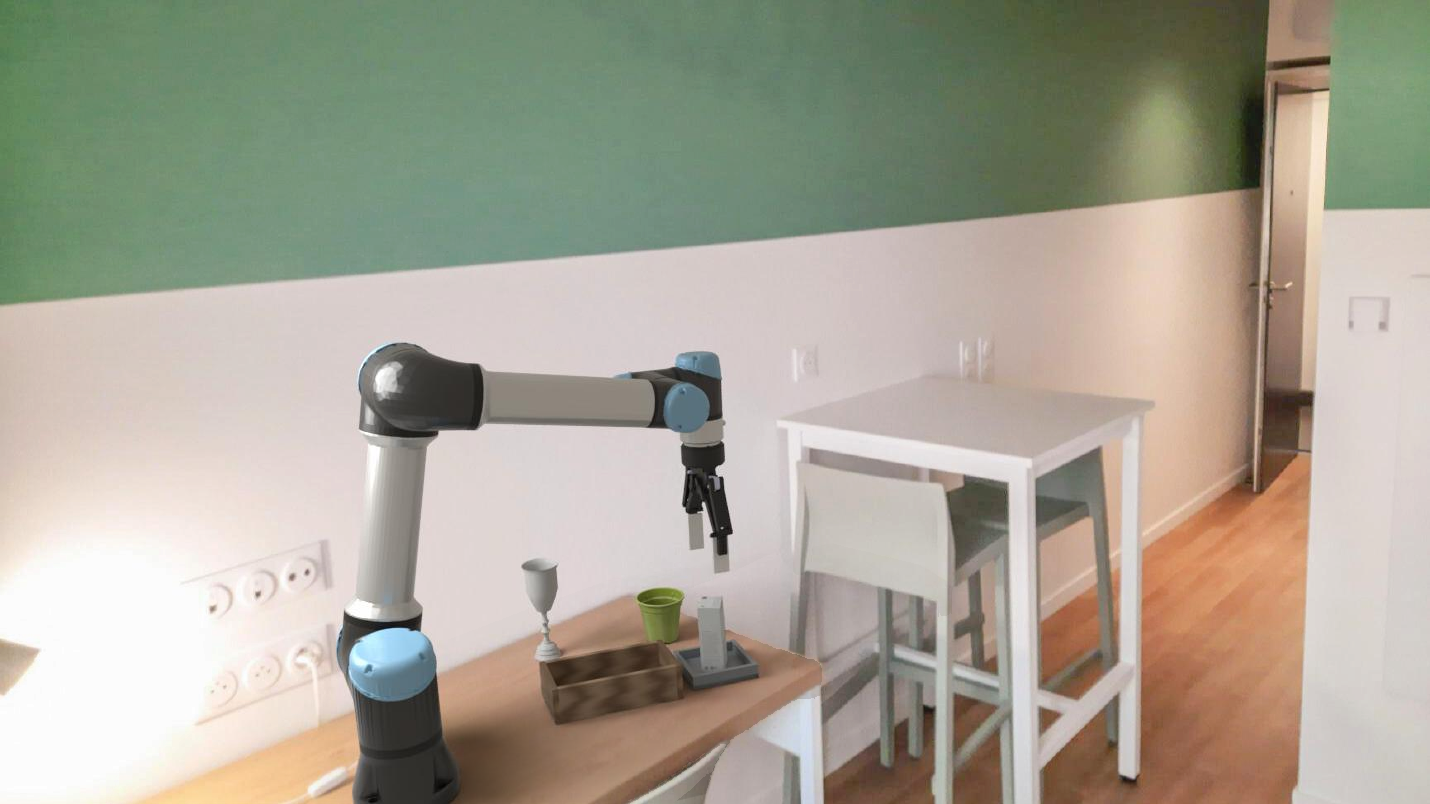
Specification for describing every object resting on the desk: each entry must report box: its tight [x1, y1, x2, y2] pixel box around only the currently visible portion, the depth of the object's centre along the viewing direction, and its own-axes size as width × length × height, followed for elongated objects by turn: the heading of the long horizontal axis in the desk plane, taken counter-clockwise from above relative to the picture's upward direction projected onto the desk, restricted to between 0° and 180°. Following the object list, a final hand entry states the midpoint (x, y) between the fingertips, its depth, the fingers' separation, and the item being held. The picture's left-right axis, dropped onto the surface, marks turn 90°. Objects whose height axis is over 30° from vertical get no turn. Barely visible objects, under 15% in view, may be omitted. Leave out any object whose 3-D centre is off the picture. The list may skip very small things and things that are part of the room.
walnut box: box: [538, 639, 684, 725], centre depth 185 cm, size 22×12×6 cm, turn 109°
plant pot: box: [635, 586, 685, 644], centre depth 208 cm, size 9×9×9 cm
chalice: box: [520, 557, 562, 662], centre depth 202 cm, size 7×7×18 cm
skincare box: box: [696, 595, 728, 673], centre depth 193 cm, size 6×4×12 cm
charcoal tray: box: [672, 639, 760, 692], centre depth 193 cm, size 12×12×2 cm
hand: (708, 560), depth 190 cm, fingers open, 13 cm apart
